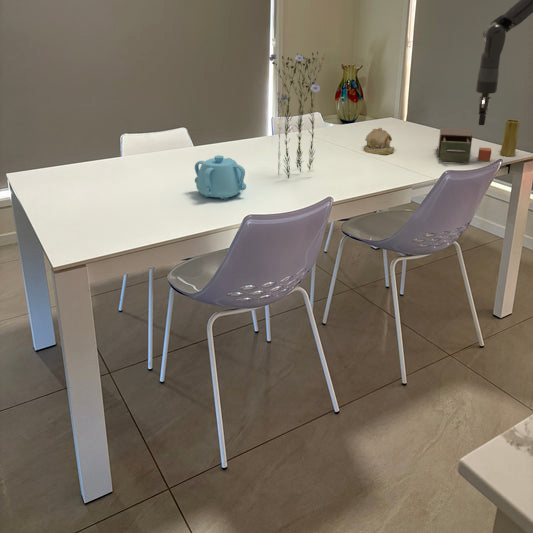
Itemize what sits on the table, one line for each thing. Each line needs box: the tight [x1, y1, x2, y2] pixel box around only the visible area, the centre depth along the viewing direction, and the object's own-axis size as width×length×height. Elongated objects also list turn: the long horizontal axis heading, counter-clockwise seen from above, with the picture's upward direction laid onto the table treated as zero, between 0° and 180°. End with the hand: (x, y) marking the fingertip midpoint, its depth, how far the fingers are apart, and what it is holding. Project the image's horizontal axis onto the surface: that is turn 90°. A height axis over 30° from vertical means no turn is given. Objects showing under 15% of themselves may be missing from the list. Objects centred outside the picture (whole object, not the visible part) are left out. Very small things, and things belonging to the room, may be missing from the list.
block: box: [477, 147, 492, 162], centre depth 242 cm, size 4×4×4 cm
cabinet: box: [437, 126, 473, 158], centre depth 250 cm, size 15×13×10 cm
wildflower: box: [268, 51, 326, 179], centre depth 215 cm, size 22×23×45 cm
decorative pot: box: [194, 154, 247, 200], centre depth 202 cm, size 16×16×14 cm
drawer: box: [439, 137, 472, 163], centre depth 240 cm, size 18×11×8 cm, turn 165°
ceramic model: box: [363, 127, 395, 155], centre depth 255 cm, size 14×11×10 cm
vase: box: [499, 118, 521, 157], centre depth 246 cm, size 6×6×14 cm
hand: (481, 124), depth 234 cm, fingers closed
